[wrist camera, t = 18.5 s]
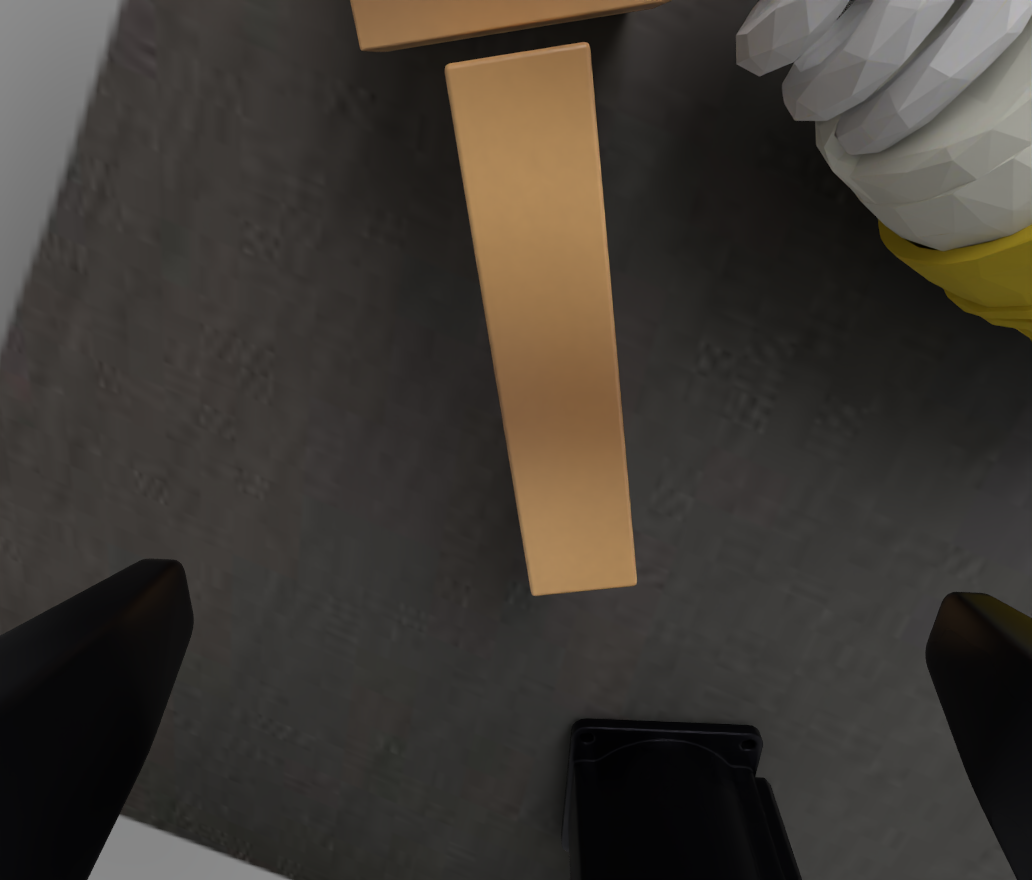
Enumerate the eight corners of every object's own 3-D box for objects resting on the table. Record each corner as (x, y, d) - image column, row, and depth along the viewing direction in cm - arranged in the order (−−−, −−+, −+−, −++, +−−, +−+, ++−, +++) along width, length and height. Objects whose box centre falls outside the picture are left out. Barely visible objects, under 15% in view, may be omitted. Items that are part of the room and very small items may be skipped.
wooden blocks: (362, -178, 15) (254, -328, 9) (620, -227, 15) (678, -415, 9) (479, 457, 22) (460, 605, 16) (661, 436, 21) (712, 579, 15)
